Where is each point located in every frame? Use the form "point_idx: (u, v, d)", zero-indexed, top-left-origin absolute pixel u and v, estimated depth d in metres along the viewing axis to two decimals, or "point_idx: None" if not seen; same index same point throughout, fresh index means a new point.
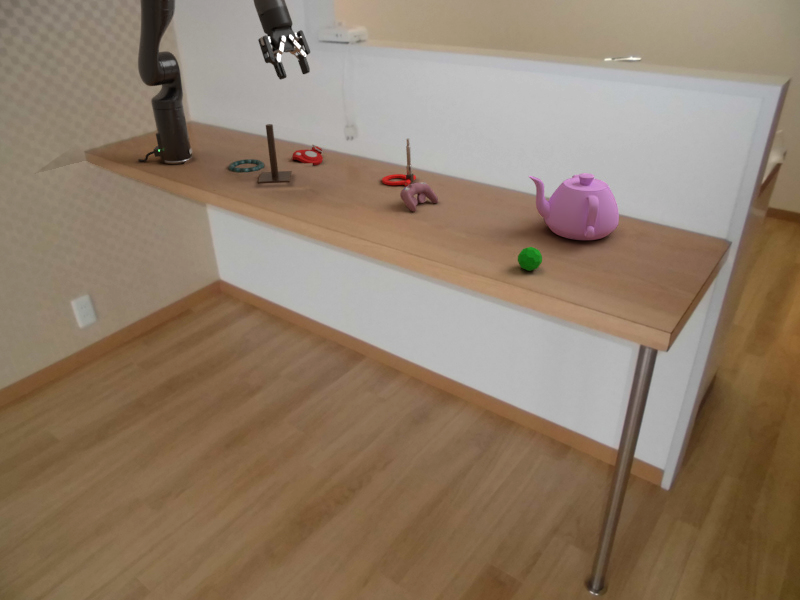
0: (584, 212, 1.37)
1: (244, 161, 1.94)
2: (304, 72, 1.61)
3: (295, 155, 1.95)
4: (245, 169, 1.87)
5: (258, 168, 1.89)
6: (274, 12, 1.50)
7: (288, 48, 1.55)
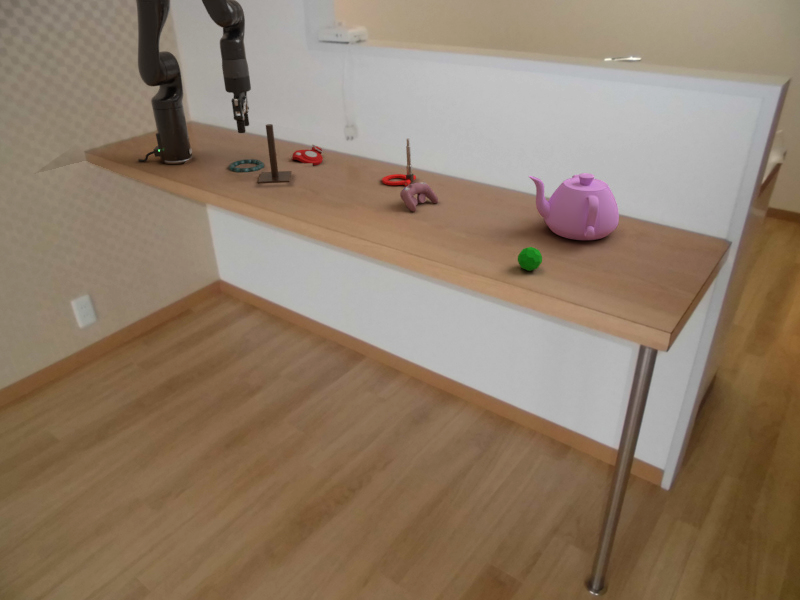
0: (584, 212, 1.37)
1: (244, 161, 1.94)
2: (244, 125, 1.94)
3: (295, 155, 1.95)
4: (245, 169, 1.87)
5: (258, 168, 1.89)
6: (245, 80, 1.81)
7: None
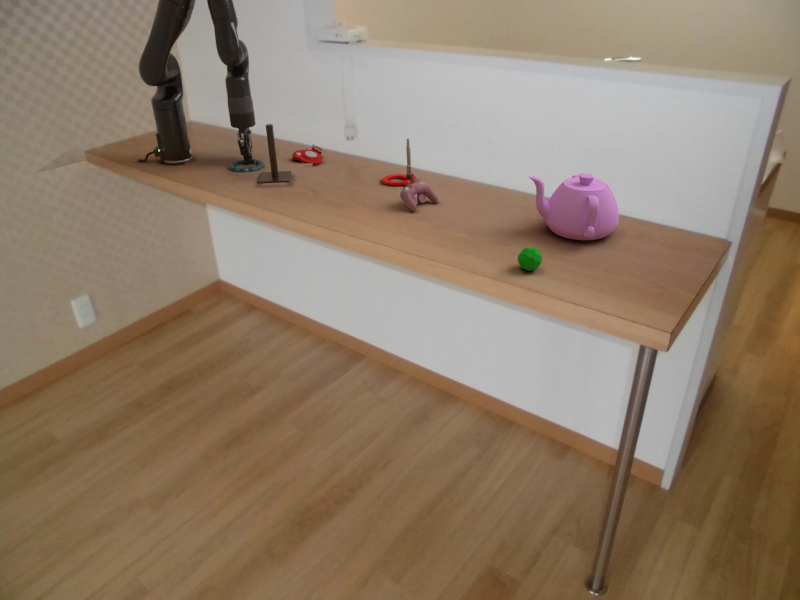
0: (584, 212, 1.37)
1: None
2: None
3: (295, 155, 1.95)
4: (245, 169, 1.87)
5: (258, 168, 1.89)
6: (250, 116, 1.86)
7: None
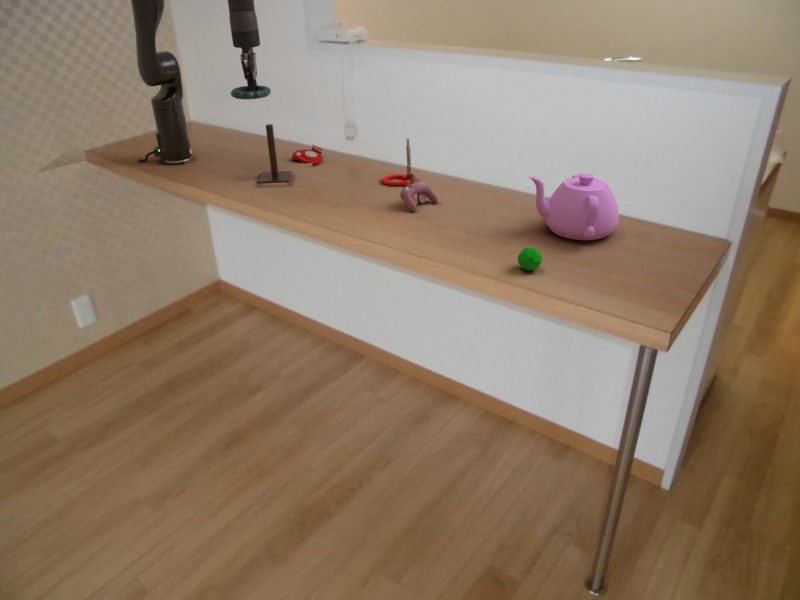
0: (584, 212, 1.37)
1: None
2: None
3: (295, 155, 1.95)
4: (249, 93, 1.71)
5: (264, 92, 1.72)
6: (254, 34, 1.70)
7: None
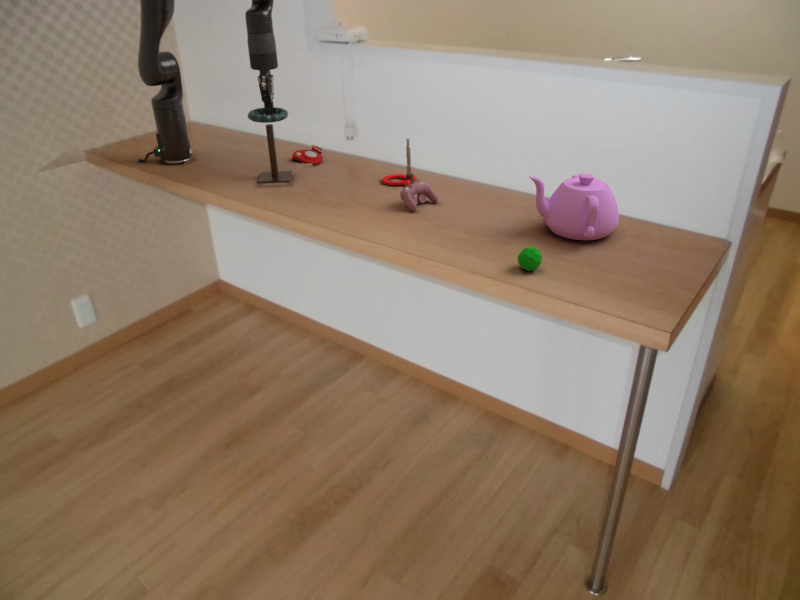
0: (584, 212, 1.37)
1: None
2: None
3: (295, 155, 1.95)
4: (267, 116, 1.68)
5: (281, 116, 1.70)
6: (272, 56, 1.67)
7: None
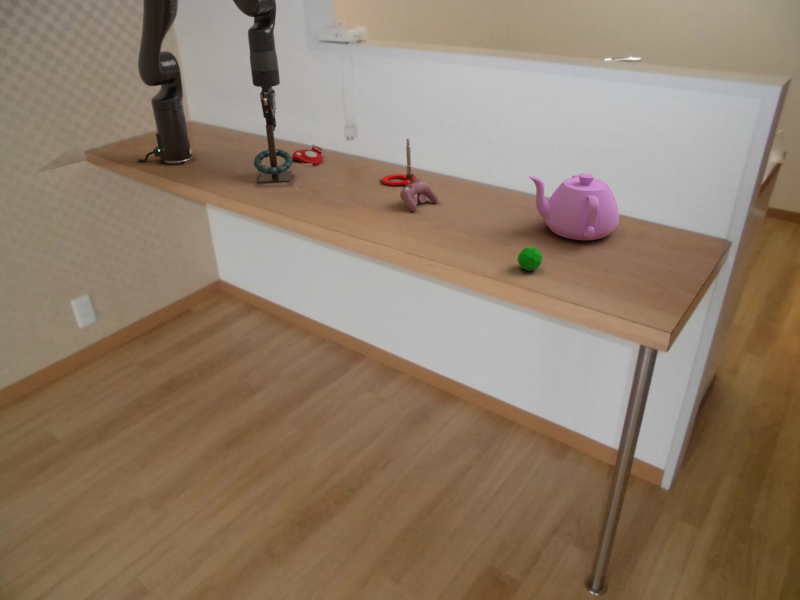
0: (584, 212, 1.37)
1: None
2: None
3: (295, 155, 1.95)
4: (273, 169, 1.76)
5: (286, 167, 1.77)
6: (274, 73, 1.70)
7: None
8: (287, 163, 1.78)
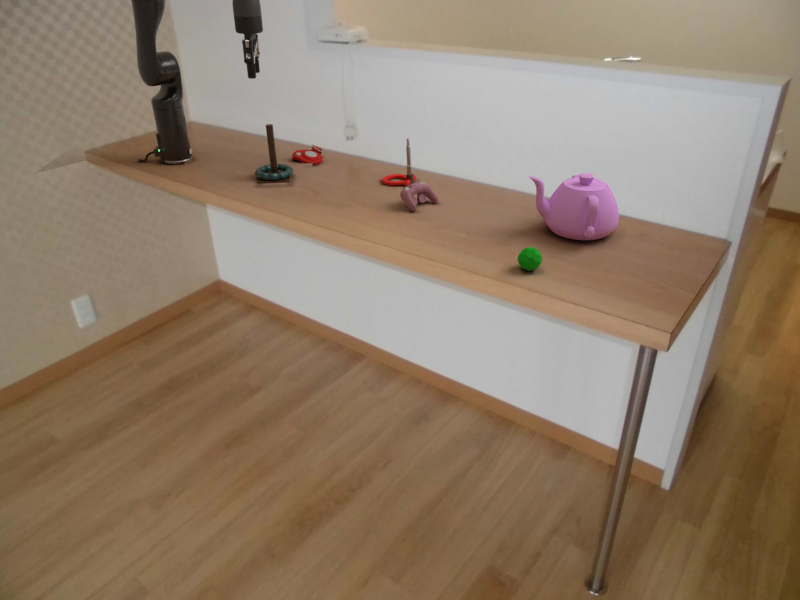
0: (584, 212, 1.37)
1: None
2: None
3: (295, 155, 1.95)
4: (274, 174, 1.77)
5: (287, 173, 1.79)
6: (257, 20, 1.68)
7: None
8: (288, 170, 1.80)
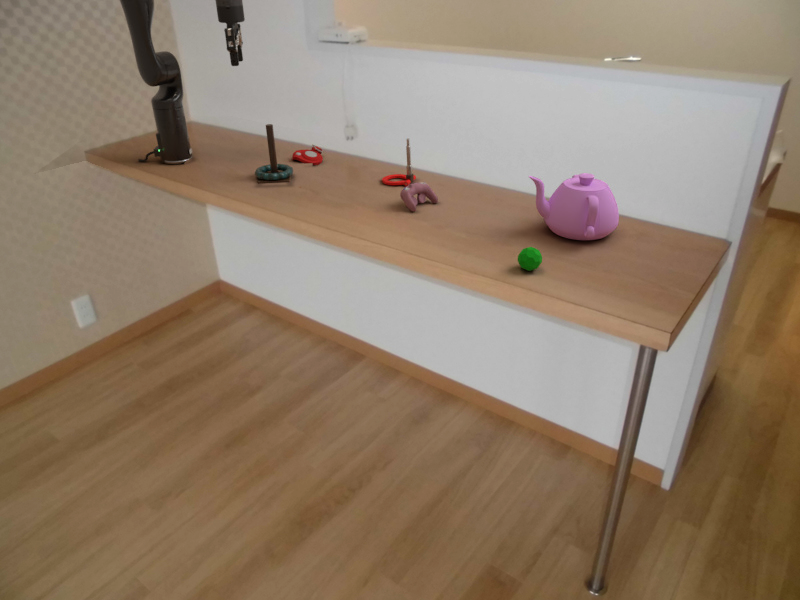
0: (584, 212, 1.37)
1: None
2: (238, 60, 1.88)
3: (295, 155, 1.95)
4: (274, 174, 1.77)
5: (287, 173, 1.79)
6: (238, 9, 1.76)
7: None
8: (288, 170, 1.80)
